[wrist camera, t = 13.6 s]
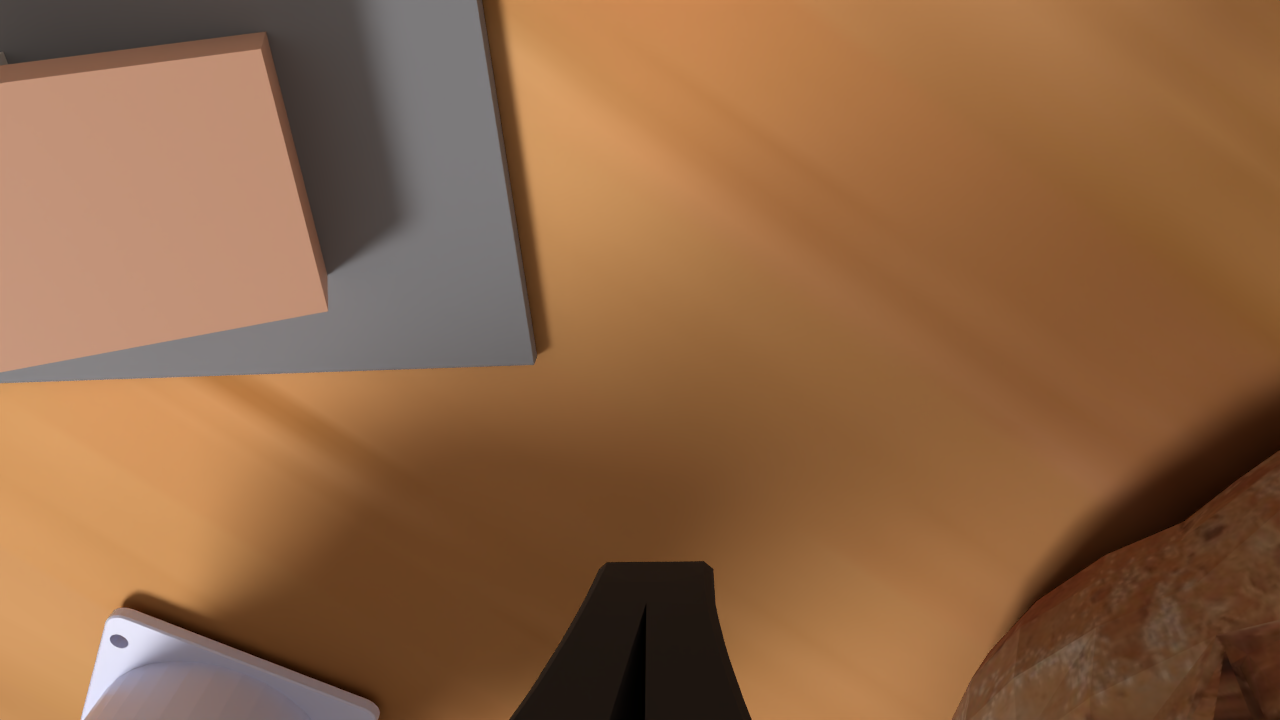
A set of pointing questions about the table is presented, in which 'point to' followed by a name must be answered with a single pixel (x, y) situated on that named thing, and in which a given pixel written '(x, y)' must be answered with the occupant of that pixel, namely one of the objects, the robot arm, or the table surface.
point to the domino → (149, 200)
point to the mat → (345, 181)
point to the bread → (1154, 626)
